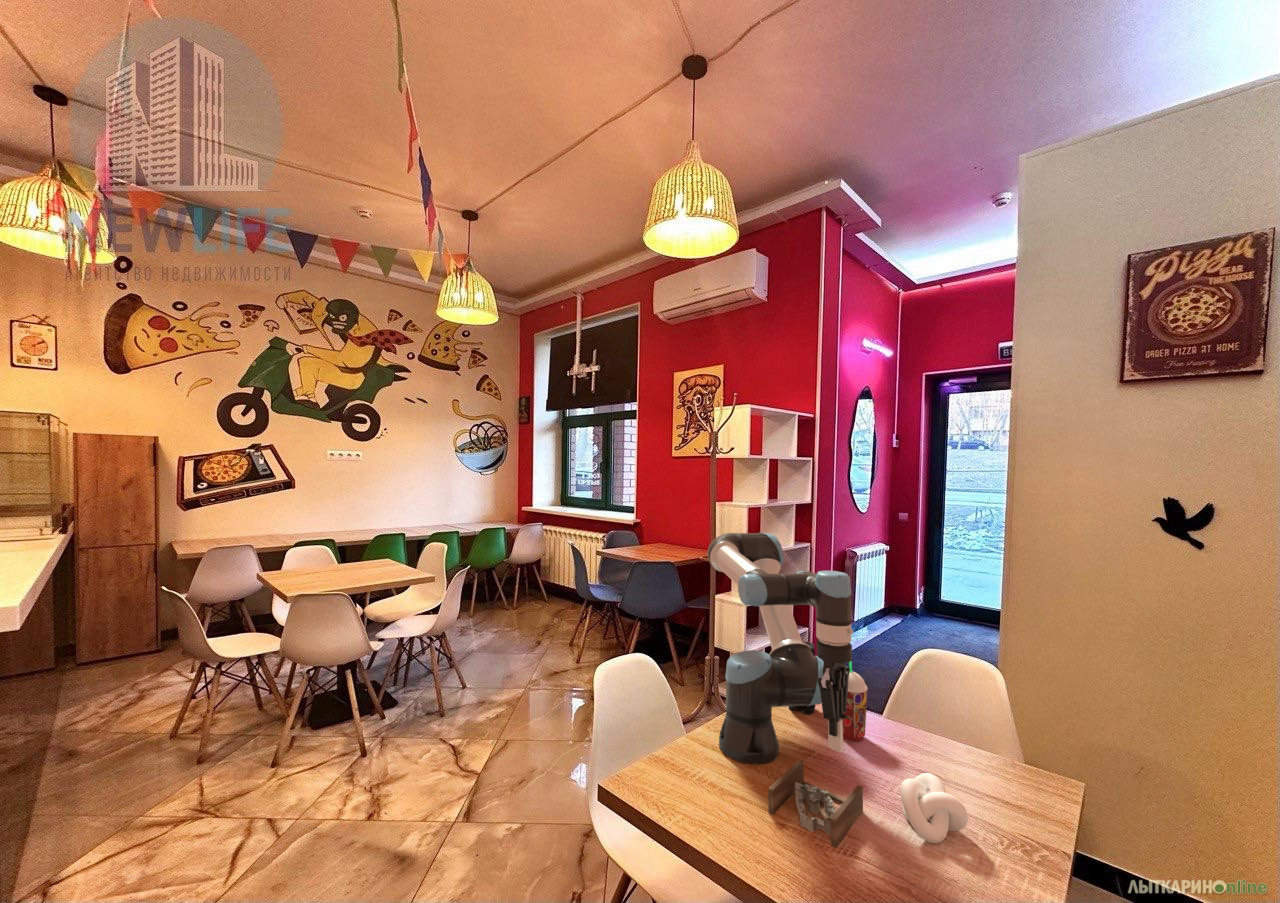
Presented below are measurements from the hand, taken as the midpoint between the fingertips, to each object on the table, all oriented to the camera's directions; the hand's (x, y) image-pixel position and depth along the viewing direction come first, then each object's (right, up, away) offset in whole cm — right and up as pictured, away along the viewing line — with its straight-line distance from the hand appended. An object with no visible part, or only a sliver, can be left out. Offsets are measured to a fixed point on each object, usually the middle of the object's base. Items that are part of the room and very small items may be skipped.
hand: (835, 748), depth 109 cm
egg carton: (-8, -9, -9) cm, 15 cm away
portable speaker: (+5, -12, +39) cm, 41 cm away
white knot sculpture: (+14, -9, -11) cm, 20 cm away
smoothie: (+14, -11, +23) cm, 29 cm away
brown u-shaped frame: (-7, -9, -8) cm, 14 cm away
